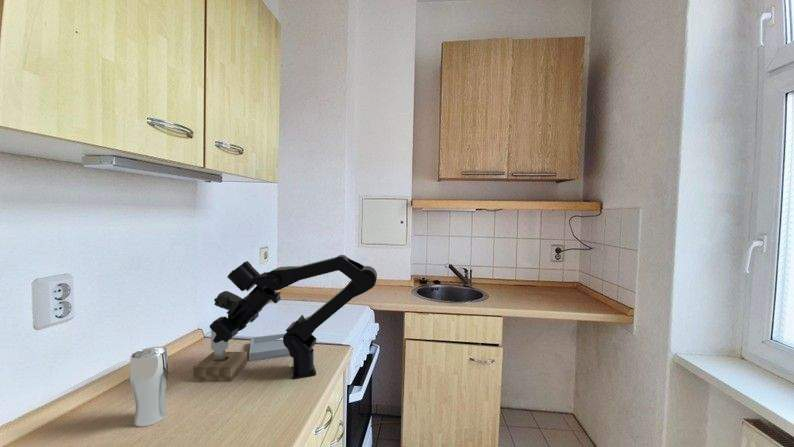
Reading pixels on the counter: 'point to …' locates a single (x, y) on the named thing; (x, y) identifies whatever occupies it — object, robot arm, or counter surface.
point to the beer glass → (149, 384)
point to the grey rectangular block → (218, 348)
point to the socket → (220, 367)
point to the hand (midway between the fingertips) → (216, 340)
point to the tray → (267, 347)
